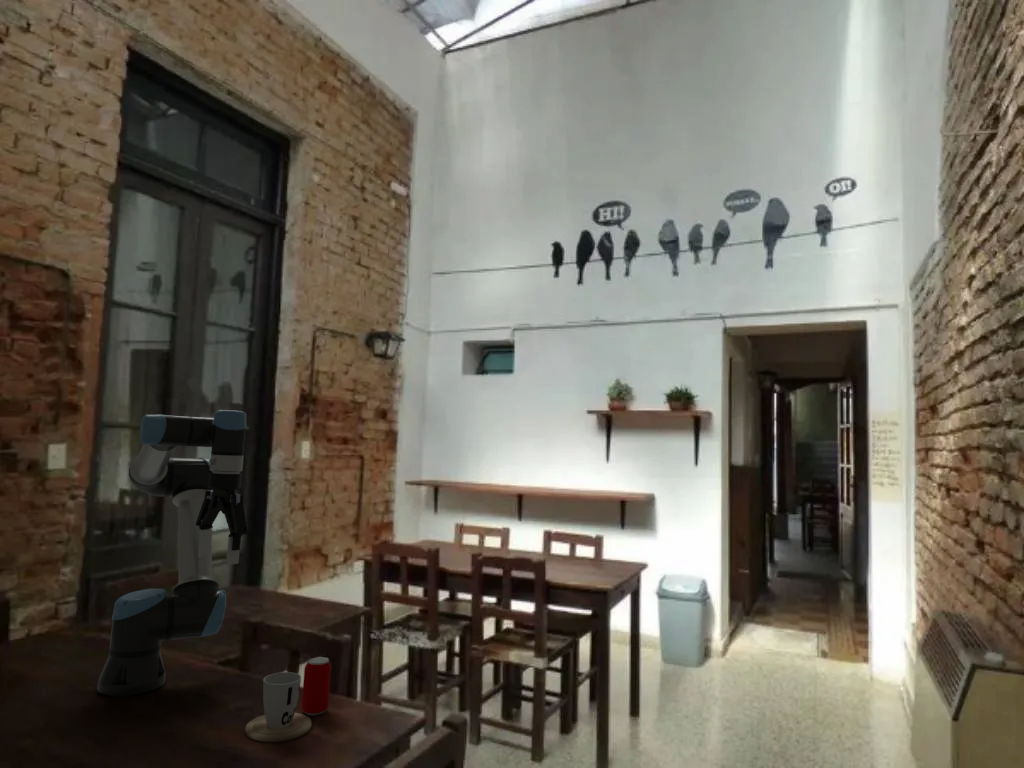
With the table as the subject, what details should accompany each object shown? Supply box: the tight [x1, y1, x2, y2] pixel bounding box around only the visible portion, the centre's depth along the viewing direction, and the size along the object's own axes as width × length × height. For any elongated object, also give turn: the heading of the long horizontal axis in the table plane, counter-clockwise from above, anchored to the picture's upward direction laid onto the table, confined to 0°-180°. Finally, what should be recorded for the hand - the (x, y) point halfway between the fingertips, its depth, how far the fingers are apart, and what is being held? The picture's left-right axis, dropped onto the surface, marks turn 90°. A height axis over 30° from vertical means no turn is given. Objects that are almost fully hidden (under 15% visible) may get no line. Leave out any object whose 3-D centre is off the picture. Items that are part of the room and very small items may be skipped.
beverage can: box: [301, 657, 332, 716], centre depth 158 cm, size 6×6×12 cm
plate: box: [244, 712, 312, 743], centre depth 148 cm, size 14×14×1 cm
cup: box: [262, 671, 302, 729], centre depth 149 cm, size 8×8×10 cm
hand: (217, 560), depth 160 cm, fingers open, 13 cm apart
